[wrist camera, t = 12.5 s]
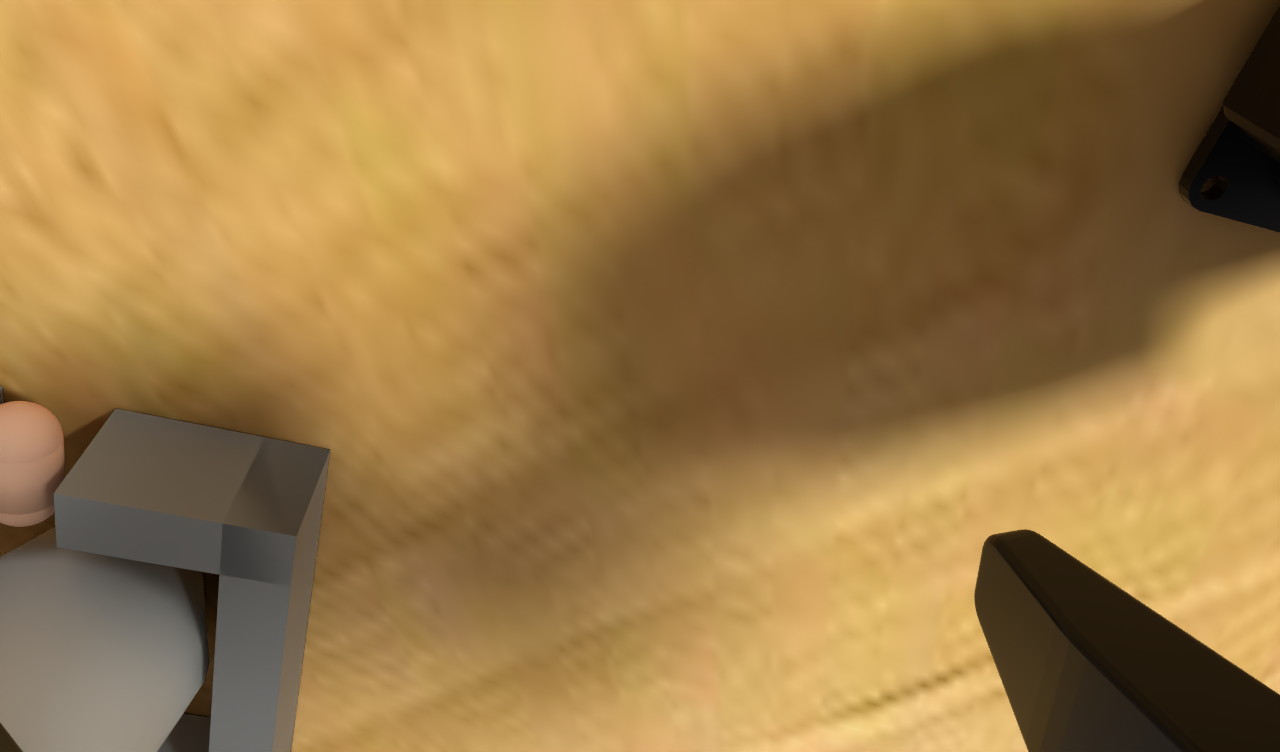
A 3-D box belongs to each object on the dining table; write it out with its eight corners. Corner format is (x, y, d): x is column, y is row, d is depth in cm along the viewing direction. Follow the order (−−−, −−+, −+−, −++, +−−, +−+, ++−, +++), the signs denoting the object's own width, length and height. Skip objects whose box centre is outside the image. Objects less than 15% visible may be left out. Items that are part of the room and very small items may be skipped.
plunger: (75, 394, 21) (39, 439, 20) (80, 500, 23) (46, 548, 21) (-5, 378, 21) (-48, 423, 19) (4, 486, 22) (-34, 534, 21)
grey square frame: (330, 449, 23) (296, 536, 21) (289, 761, 30) (259, 857, 27) (-237, 340, 21) (-350, 421, 19) (-152, 699, 28) (-228, 796, 25)
